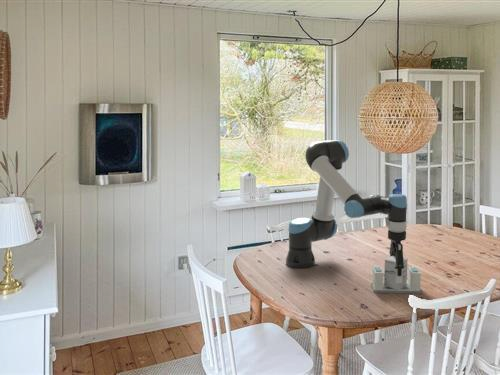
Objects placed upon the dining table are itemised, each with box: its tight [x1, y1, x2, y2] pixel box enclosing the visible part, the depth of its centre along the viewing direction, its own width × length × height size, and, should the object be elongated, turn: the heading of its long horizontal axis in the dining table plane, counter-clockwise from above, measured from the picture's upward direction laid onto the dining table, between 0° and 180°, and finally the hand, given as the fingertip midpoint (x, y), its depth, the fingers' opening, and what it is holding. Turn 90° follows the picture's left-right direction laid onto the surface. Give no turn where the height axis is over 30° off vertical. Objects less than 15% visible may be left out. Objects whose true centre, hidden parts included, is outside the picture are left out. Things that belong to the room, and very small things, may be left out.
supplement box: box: [383, 256, 408, 290], centre depth 206 cm, size 7×7×13 cm
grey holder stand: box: [370, 265, 423, 295], centre depth 206 cm, size 20×9×9 cm, turn 83°
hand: (395, 276), depth 206 cm, fingers open, 13 cm apart
